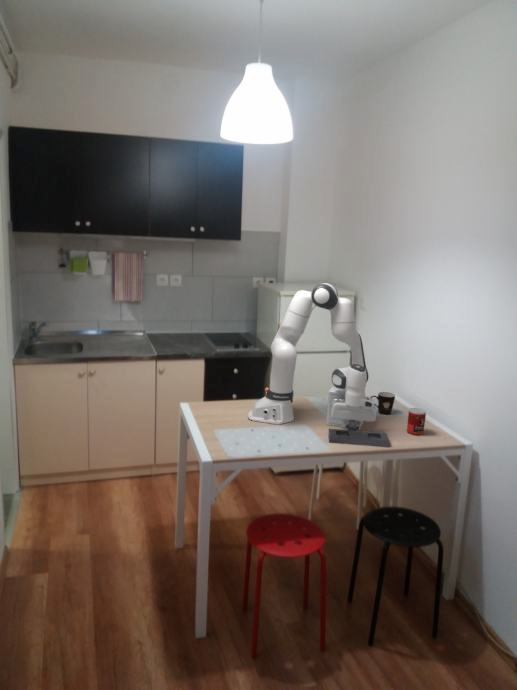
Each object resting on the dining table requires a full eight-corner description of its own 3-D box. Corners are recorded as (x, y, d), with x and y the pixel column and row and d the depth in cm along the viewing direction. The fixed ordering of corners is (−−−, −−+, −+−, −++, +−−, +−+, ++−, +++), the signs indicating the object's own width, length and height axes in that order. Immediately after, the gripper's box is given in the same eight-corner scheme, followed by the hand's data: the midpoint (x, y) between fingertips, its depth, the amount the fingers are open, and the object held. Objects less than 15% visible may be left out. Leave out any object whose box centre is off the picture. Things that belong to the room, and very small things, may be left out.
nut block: (347, 434, 263) (348, 421, 262) (347, 431, 267) (348, 418, 266) (356, 435, 263) (357, 421, 261) (355, 431, 267) (356, 418, 265)
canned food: (414, 436, 265) (417, 414, 262) (402, 430, 271) (405, 408, 269) (427, 434, 268) (429, 412, 266) (415, 428, 275) (417, 406, 272)
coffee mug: (395, 412, 296) (397, 394, 294) (389, 417, 289) (391, 398, 287) (374, 407, 302) (376, 389, 300) (368, 412, 295) (370, 393, 293)
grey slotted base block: (328, 442, 253) (329, 436, 252) (328, 434, 261) (328, 428, 261) (388, 447, 251) (389, 440, 250) (385, 439, 260) (386, 433, 259)
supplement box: (348, 421, 280) (351, 388, 276) (345, 427, 271) (348, 393, 268) (329, 418, 283) (331, 385, 279) (325, 424, 274) (328, 391, 270)
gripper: (332, 400, 259) (329, 429, 262) (377, 404, 258) (375, 432, 261) (331, 396, 265) (329, 424, 268) (376, 399, 264) (373, 428, 267)
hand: (352, 428), depth 265 cm, fingers closed on nut block, 4 cm apart
